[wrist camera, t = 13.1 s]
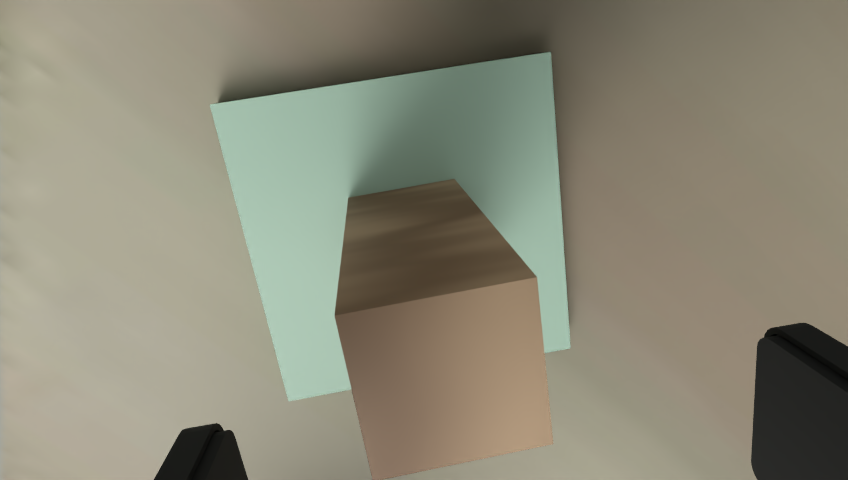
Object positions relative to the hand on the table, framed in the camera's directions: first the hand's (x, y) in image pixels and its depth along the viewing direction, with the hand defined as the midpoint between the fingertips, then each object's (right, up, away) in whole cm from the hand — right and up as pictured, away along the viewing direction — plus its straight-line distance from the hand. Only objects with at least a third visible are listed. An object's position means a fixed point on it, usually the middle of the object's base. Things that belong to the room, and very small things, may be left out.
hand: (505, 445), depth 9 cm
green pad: (-2, +4, +12) cm, 13 cm away
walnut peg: (-2, +4, +11) cm, 12 cm away
